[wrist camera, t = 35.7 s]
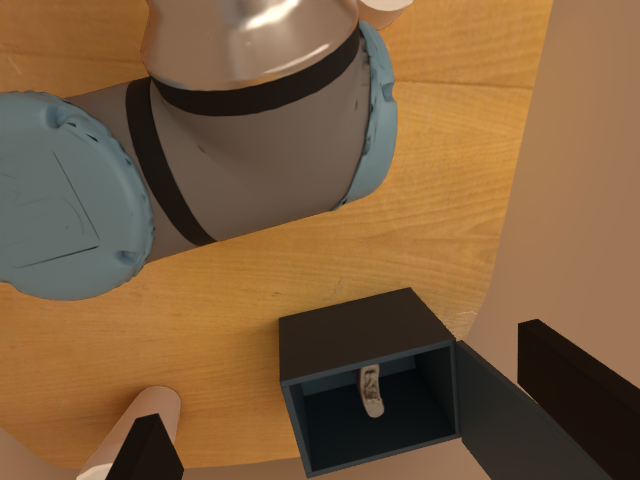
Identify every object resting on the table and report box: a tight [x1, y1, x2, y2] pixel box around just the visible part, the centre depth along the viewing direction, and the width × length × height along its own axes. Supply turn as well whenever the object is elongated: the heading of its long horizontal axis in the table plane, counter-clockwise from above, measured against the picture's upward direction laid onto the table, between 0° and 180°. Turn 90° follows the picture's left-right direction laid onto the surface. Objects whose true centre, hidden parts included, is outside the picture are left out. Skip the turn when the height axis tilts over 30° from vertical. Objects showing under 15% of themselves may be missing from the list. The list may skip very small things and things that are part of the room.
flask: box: [352, 364, 384, 417], centre depth 43 cm, size 9×3×11 cm, turn 10°
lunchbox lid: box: [456, 340, 613, 480], centre depth 28 cm, size 21×15×6 cm
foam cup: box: [76, 386, 181, 480], centre depth 41 cm, size 10×9×13 cm
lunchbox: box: [279, 288, 462, 478], centre depth 43 cm, size 20×15×13 cm
